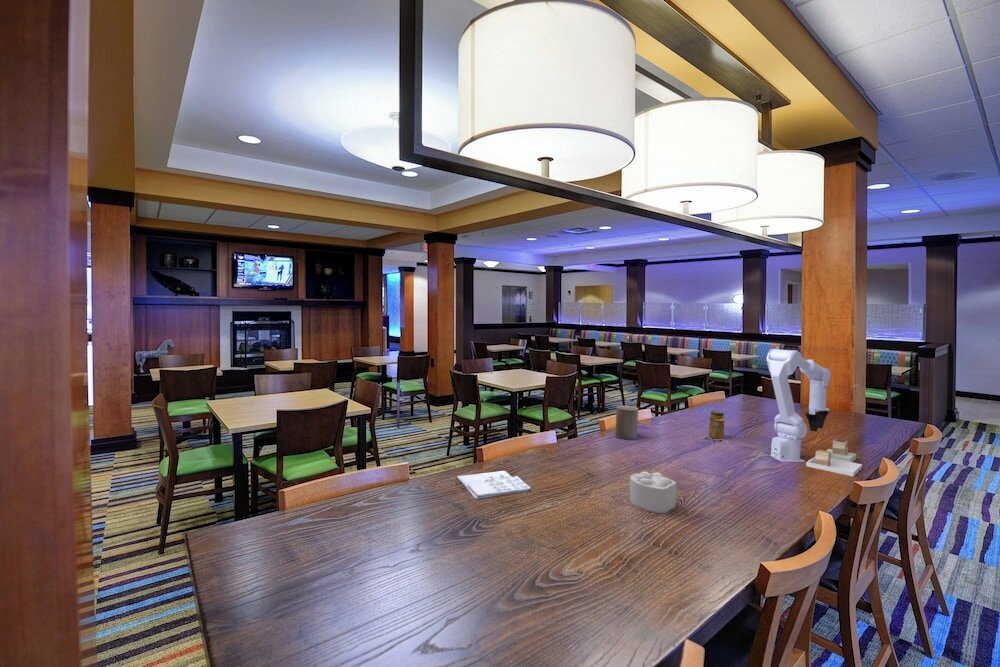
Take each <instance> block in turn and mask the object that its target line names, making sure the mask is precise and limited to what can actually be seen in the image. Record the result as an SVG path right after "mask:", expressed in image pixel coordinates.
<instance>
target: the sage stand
mask: <svg viewBox="0 0 1000 667" xmlns="http://www.w3.org/2000/svg"><path fill="white" fill-rule="evenodd" d="M832 450H833V448H828V449H827V450H825V451H829V452H831V458H833V459H838V460H843V461H848V462H853V463H854V462H855V460H856V459H857V453H854V452H847V455H845V456H843V455H838V454H832Z"/></svg>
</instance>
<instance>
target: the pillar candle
mask: <svg viewBox="0 0 1000 667" xmlns="http://www.w3.org/2000/svg"><path fill="white" fill-rule="evenodd" d="M615 415H616V416H615V437H616V438H618V439H620V440H625V441H626V440H629V441H632V440H637V439H638V429H639V428H638V424H639V407H636V406H632V405H617V406H616V414H615Z"/></svg>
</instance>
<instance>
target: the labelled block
mask: <svg viewBox="0 0 1000 667" xmlns="http://www.w3.org/2000/svg"><path fill="white" fill-rule="evenodd" d="M848 448H849V441H848V440H843V439H842V440H841V439H838V438H835V439H833V440H832V449H833V450H832V454H838V455H843V456H845V455H847V452H848Z"/></svg>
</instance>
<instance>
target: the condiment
mask: <svg viewBox="0 0 1000 667" xmlns="http://www.w3.org/2000/svg"><path fill="white" fill-rule="evenodd" d="M724 417H725V416H724V412H721V411H717V410H716V411H711V412H710V417H709V432H708V436H709V437H710V438H712V439H723V437H724V438H725V432H724V431H725V418H724ZM706 437H707V436H705V437H704V439H705V438H706Z"/></svg>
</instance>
